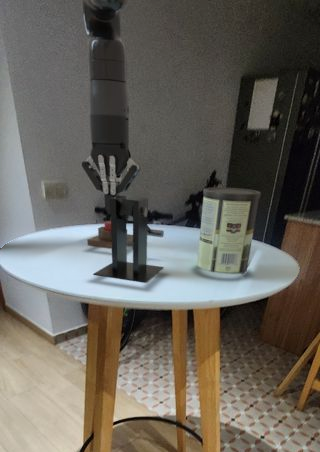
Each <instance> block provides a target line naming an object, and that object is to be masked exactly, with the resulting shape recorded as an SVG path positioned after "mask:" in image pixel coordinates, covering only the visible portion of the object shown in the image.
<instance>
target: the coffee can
mask: <svg viewBox="0 0 320 452" xmlns="http://www.w3.org/2000/svg"><path fill="white" fill-rule="evenodd" d="M202 193H203V198H202V208H201V219H200V230H199V231H200V232H199V242H198V251H197V262H196V266H197V267H198V268H200V269H202V270H204V271H208V272H212V273H218V274H240V273H243V272H244V273H243V275H242V277H244V276H246V275H247V272H248V265H249V259H250V254H251V248H252V243H253V236H254V232H255V231H254V230H255V225H256V220H257V214H258V209H259V202H260V198H261V196H262V192H261V191H259V190H254V189H250V188H249V189H248V188H239V187H218V186H217V187H216V186H215V187H214V186H213V187H205V188H203V192H202Z"/></svg>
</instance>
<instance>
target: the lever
mask: <svg viewBox="0 0 320 452" xmlns="http://www.w3.org/2000/svg"><path fill="white" fill-rule="evenodd" d="M133 200H134V199H128V198H126V199H122V201H121V207H120V215H121V216H122V217H123V218H124V219H125V220H126V221H129V222H133ZM164 232H165V231H164V230H162V229H152V228H151V227H150V226H149V225H148V224H147V237H156V238H164V234H165V233H164Z"/></svg>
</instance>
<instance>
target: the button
mask: <svg viewBox="0 0 320 452" xmlns="http://www.w3.org/2000/svg"><path fill="white" fill-rule="evenodd" d="M104 226H105V230H108V231H111V220H106V221H104Z"/></svg>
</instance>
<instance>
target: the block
mask: <svg viewBox="0 0 320 452" xmlns="http://www.w3.org/2000/svg"><path fill="white" fill-rule="evenodd" d="M126 238H127V247H128V246H130V245H133V234H129V233H128V229H127V228H126ZM86 243H87V246H89V247H96V248H104V249H110V250H112V239H111V231H108V230H105V225H104V226H100V227H98V228H97V235H95V236H92V237H90V238H88V239H87V240H86Z"/></svg>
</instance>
